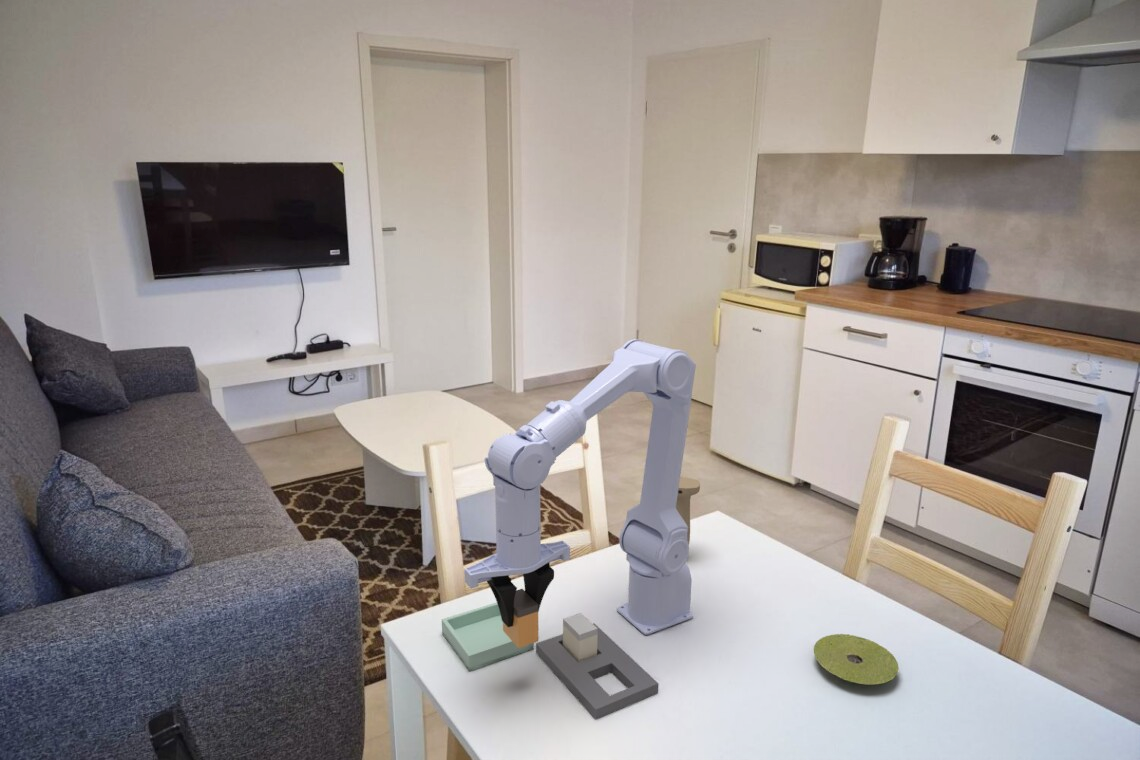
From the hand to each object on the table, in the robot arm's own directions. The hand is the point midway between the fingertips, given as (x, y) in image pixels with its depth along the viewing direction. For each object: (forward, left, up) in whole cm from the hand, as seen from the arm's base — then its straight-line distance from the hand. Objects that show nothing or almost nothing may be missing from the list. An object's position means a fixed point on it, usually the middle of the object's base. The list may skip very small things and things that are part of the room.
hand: (519, 618), depth 100 cm
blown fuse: (0, 0, -2) cm, 2 cm away
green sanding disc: (-42, +21, -10) cm, 48 cm away
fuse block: (-10, +3, -10) cm, 14 cm away
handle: (-40, -16, -10) cm, 44 cm away
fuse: (-10, -1, -10) cm, 14 cm away
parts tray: (0, -11, -10) cm, 15 cm away
